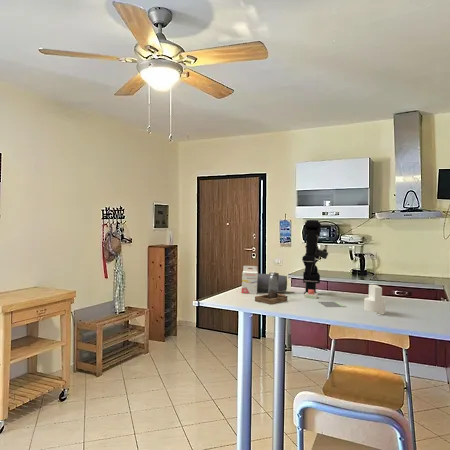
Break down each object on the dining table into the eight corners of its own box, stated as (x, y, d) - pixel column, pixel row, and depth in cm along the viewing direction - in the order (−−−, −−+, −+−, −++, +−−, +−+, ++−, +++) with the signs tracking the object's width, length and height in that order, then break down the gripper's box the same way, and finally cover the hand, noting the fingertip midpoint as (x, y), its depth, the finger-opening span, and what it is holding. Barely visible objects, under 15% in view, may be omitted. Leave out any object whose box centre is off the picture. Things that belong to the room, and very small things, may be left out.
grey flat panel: (317, 304, 198) (317, 301, 198) (337, 304, 199) (337, 301, 199) (326, 309, 186) (326, 306, 186) (347, 309, 187) (347, 306, 187)
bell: (275, 298, 206) (276, 271, 206) (279, 300, 201) (280, 272, 201) (266, 298, 204) (267, 271, 204) (270, 300, 200) (271, 272, 200)
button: (308, 293, 211) (308, 289, 211) (314, 293, 210) (314, 289, 210) (307, 294, 208) (307, 290, 208) (313, 294, 207) (313, 290, 207)
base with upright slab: (361, 310, 187) (362, 284, 187) (380, 310, 187) (381, 284, 187) (367, 314, 178) (368, 287, 178) (388, 315, 178) (389, 288, 178)
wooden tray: (272, 297, 210) (272, 293, 210) (287, 300, 203) (287, 296, 203) (254, 301, 201) (255, 296, 201) (269, 304, 194) (269, 299, 194)
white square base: (306, 298, 213) (306, 292, 213) (317, 299, 211) (317, 293, 210) (304, 300, 207) (304, 294, 207) (315, 301, 205) (316, 295, 205)
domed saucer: (273, 294, 219) (274, 292, 219) (286, 295, 217) (286, 294, 217) (270, 296, 213) (270, 295, 213) (283, 298, 210) (283, 296, 210)
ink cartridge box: (241, 293, 221) (242, 266, 221) (241, 291, 226) (242, 265, 226) (257, 294, 220) (257, 267, 220) (257, 292, 225) (258, 266, 225)
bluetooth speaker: (286, 291, 231) (287, 274, 231) (285, 294, 222) (286, 276, 222) (247, 289, 236) (248, 271, 236) (244, 291, 227) (245, 273, 227)
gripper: (325, 245, 200) (324, 277, 200) (329, 243, 217) (328, 272, 218) (302, 244, 204) (301, 275, 204) (308, 242, 221) (307, 271, 222)
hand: (310, 273), depth 212 cm, fingers open, 9 cm apart
